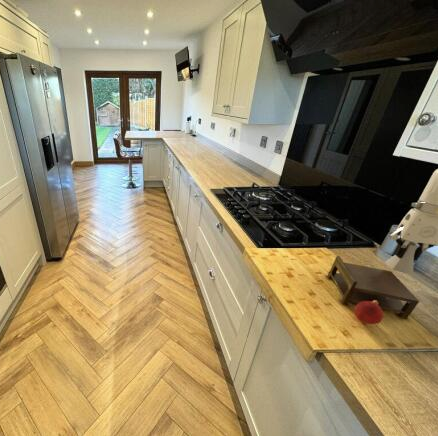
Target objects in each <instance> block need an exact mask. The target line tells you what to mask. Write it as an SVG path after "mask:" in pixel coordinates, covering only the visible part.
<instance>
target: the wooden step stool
mask: <svg viewBox="0 0 438 436" xmlns="http://www.w3.org/2000/svg"><path fill="white" fill-rule="evenodd" d="M326 277H327V279H329V280H332V281H333V283H334V284H335V286H336V287H337V290H338V292H339V293H340V295H341V299H340V302H341V303H340V304H342V305H344V306H348V305H349V303H350V302H352V303H356V304H358V303H360V302H363V301H370V302H372V301H374V300H375V301H378V305H379V306H380V307H381V309H382V310H386V311H391V312H396V313H397V315H398V316H399V318H401V319H405V320H407V319H408V318H409V317H410V315H411V313H412V312H413V311H414V310H415V308H416V307H417V306H418V304H419V303H420V300H419V299H418V298H417V297H416V296H415V295H414V293H412V292H411V290H409V288H407V286H406V285H405V284H404V283H402V281H401V280H400V279H399V278H398V276H396V275H395V274H394V272H392V271H391V270H386V269H381V268H375V267H371V266H366V265H359V264H355V263H349V262H346V261H345V262H344V260H343V259H342V258H341V256H340V255H336V256H335V260H334V261H333V263H332V265H331V267H330V269H329V271H328V274H327V276H326ZM402 301H403V302H405V303H402Z"/></svg>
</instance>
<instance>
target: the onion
mask: <svg viewBox="0 0 438 436" xmlns="http://www.w3.org/2000/svg"><path fill="white" fill-rule="evenodd" d="M354 314H355V316H356V317H357V319H358V320H359V321H360V322H361V323H363V324H366V325H376V324H380V323H381V322H382V321H383V319H384V315H385V314H384V310H383V309H382V308H381V307H380V306H379V305H378V301H375V300H374V301H372V302H370V301H363V302H360V303H356V305H355V306H354Z"/></svg>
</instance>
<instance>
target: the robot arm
mask: <svg viewBox="0 0 438 436" xmlns="http://www.w3.org/2000/svg"><path fill="white" fill-rule="evenodd" d="M410 206H411V207H413V208H411V209H410V210H409V211H408V212H407V213H406V214H405V216H403V218H402V220H401V221H400V223H399V224H398V225H397V227H396V230H395V231H393V232H392V233H390V234H389V235H388V237H390V238H391V239H392V240H394V241H395V242H396V244H397V246H396V248H395V250H394V251H393V253H394V255H396V256H397V257H398V258H402V257H403V256H404V254H405V252H406V250H407V248H406V246H407V245H408V244H409V243H410V241H411V242H414V243H417V244H419V247H417V249H416V251H415V254H414V262H415V261H416V262H417V261H418V259H419V258H420V257H421V256H422V254H423V252H426V251H427V250H429V249H431V248H434V247H437V246H438V168H437V169H435V170H434V171H433V172H432V175H431V176H430V178H429V180H428V182H427V184H426V186H425V188H424V189H423V191H422V193H421V195H420V196H419V198H418V200H417V202H412V203H411V205H410Z"/></svg>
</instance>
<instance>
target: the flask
mask: <svg viewBox="0 0 438 436" xmlns="http://www.w3.org/2000/svg"><path fill="white" fill-rule="evenodd" d="M417 247H419V244H417V242H411V241H410V243H409V244H408V245H407V246H406V248H407V250H406V252H405V254H404V256H403V257H402V258H398V257H397V256H396V255H395V254H394V255H393V256H391V257H390V258H388V259H387V260H385V265H386V266H388V268H390V269H391V270H393V271H397V272H400V273H403V274H412V275H413V274H414V263H415V260H414V254H415V251H416V249H417Z"/></svg>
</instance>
